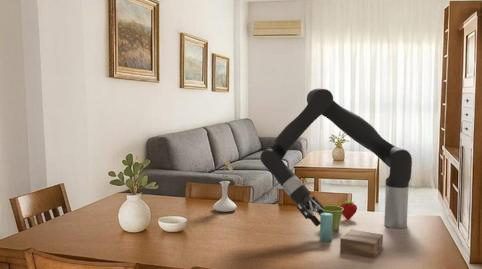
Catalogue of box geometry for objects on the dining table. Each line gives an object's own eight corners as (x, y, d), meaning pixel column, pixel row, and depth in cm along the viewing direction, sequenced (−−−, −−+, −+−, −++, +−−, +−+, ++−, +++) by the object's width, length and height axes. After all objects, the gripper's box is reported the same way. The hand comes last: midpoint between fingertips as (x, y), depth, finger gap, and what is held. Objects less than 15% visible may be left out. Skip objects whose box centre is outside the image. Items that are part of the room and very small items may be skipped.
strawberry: (358, 221, 203) (358, 199, 202) (340, 221, 203) (341, 199, 202) (355, 218, 209) (355, 196, 208) (338, 217, 209) (338, 196, 208)
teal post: (322, 237, 182) (322, 212, 181) (333, 239, 180) (334, 213, 179) (318, 240, 178) (318, 215, 177) (329, 242, 176) (330, 216, 175)
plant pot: (343, 232, 188) (343, 211, 187) (319, 231, 190) (320, 210, 189) (343, 226, 197) (343, 206, 196) (320, 224, 199) (320, 204, 198)
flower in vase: (236, 213, 216) (236, 160, 213) (211, 213, 216) (211, 160, 213) (237, 206, 229) (237, 156, 226) (213, 206, 229) (213, 156, 226)
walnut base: (350, 242, 176) (350, 229, 176) (382, 247, 170) (382, 234, 170) (340, 251, 166) (340, 238, 165) (373, 258, 160) (374, 244, 159)
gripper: (294, 187, 176) (323, 221, 171) (309, 180, 188) (335, 212, 184) (282, 199, 179) (309, 232, 175) (297, 192, 191) (322, 223, 187)
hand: (323, 222), depth 179 cm, fingers open, 8 cm apart
